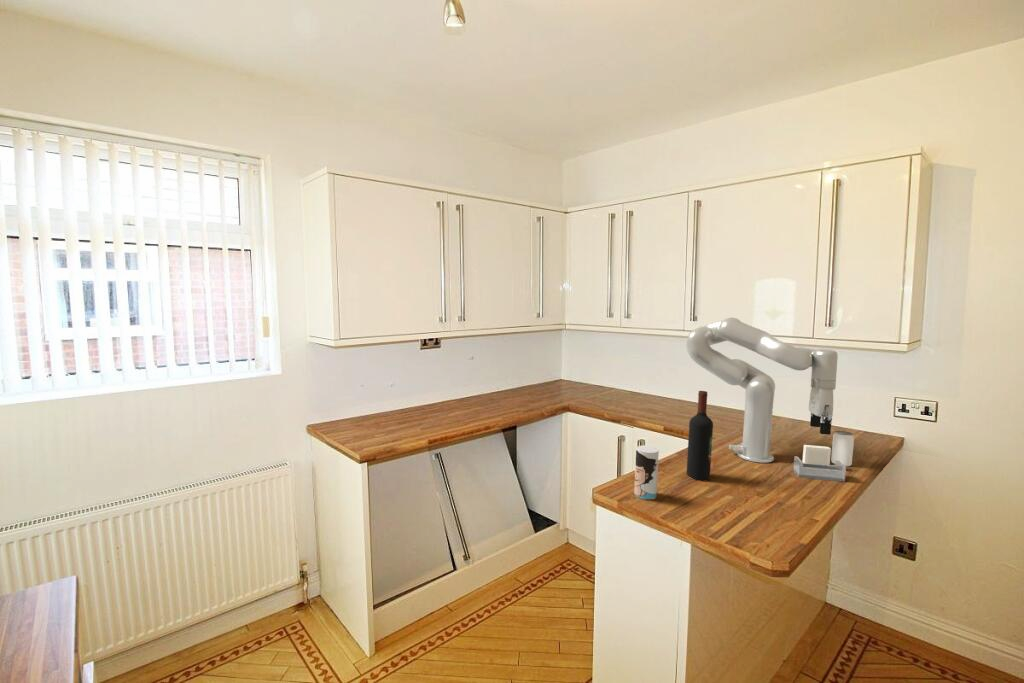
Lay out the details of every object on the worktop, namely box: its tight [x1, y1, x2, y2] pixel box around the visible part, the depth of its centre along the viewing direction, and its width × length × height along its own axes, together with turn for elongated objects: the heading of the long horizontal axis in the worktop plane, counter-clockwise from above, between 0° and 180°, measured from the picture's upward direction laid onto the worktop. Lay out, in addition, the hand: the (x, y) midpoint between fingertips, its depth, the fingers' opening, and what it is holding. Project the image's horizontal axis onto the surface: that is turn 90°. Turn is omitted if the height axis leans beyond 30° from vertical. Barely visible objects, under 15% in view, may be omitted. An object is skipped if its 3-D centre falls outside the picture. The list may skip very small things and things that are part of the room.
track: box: [792, 455, 847, 483], centre depth 167 cm, size 14×6×6 cm, turn 75°
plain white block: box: [801, 444, 832, 465], centre depth 175 cm, size 8×3×8 cm, turn 75°
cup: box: [633, 445, 659, 499], centre depth 149 cm, size 7×7×15 cm
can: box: [830, 430, 855, 468], centre depth 179 cm, size 6×6×12 cm
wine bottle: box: [686, 390, 714, 481], centre depth 164 cm, size 8×8×30 cm
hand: (819, 430), depth 174 cm, fingers open, 9 cm apart
